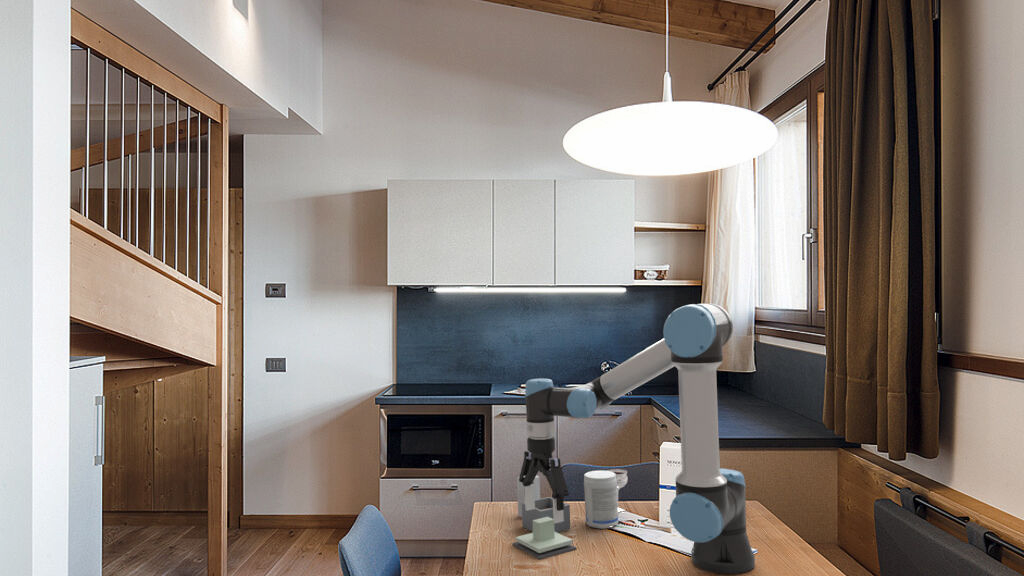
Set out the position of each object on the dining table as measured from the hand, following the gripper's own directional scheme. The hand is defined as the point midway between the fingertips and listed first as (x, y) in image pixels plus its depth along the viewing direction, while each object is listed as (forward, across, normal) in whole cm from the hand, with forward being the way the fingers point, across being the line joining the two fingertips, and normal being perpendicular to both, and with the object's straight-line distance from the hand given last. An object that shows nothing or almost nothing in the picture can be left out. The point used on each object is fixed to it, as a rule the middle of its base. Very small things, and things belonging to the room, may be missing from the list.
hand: (544, 515), depth 185 cm
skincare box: (+8, -24, +11) cm, 28 cm away
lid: (+8, 0, 0) cm, 8 cm away
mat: (+8, 0, 0) cm, 8 cm away
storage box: (+8, -12, +9) cm, 17 cm away
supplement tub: (+9, -5, +24) cm, 26 cm away
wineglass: (+9, -12, +36) cm, 39 cm away
